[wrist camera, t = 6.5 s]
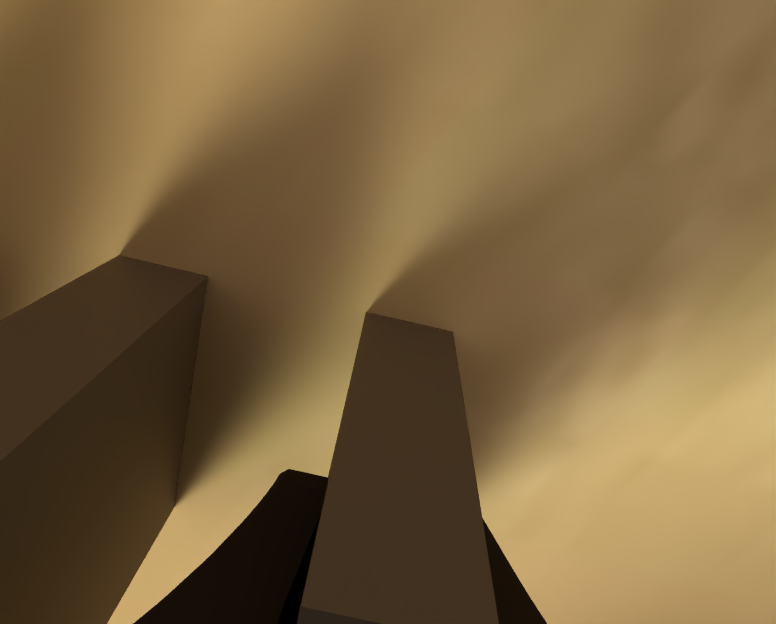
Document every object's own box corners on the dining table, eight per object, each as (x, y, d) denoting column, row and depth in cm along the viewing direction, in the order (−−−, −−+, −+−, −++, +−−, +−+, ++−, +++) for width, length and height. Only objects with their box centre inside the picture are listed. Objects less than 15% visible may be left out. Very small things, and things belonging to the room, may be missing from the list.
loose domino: (452, 331, 12) (502, 648, 5) (390, 552, 13) (366, 1014, 7) (366, 312, 12) (300, 606, 5) (314, 536, 13) (213, 984, 7)
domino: (207, 275, 11) (-75, 528, 5) (173, 507, 13) (-73, 935, 6) (118, 255, 11) (-292, 482, 5) (95, 489, 13) (-235, 904, 6)
